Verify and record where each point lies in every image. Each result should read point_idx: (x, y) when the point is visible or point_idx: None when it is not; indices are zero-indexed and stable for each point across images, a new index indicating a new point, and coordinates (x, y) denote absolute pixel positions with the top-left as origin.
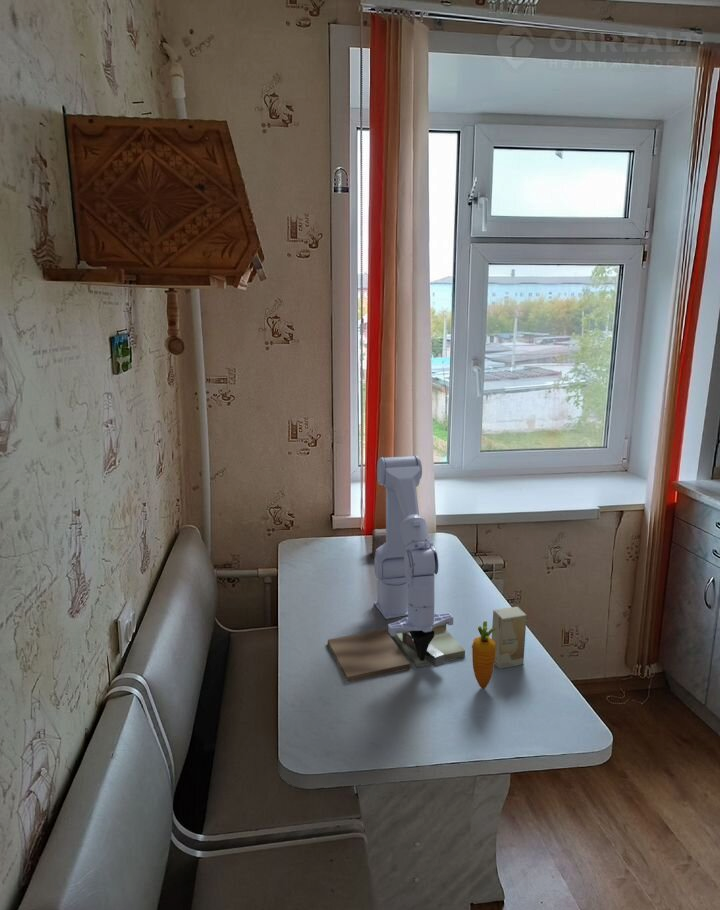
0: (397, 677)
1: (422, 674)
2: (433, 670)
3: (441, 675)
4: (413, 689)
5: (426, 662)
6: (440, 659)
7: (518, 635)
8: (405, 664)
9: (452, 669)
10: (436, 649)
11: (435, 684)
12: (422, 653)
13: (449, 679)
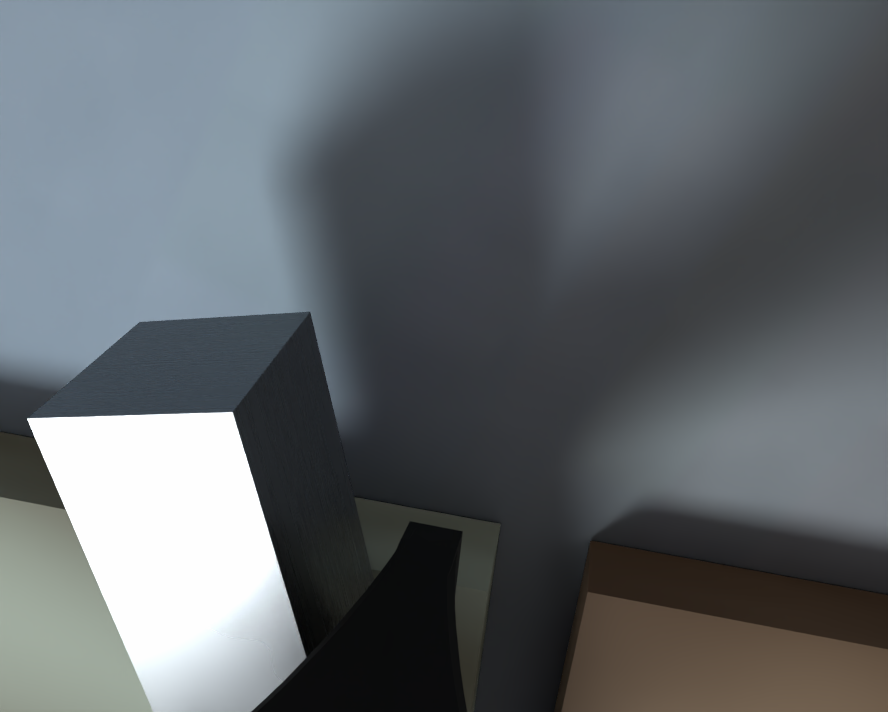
0: (871, 474)
1: (508, 366)
2: (325, 368)
3: (271, 223)
4: (872, 108)
5: None
6: (158, 375)
7: None
8: (656, 607)
9: (78, 268)
10: (122, 594)
11: (460, 63)
12: (423, 624)
13: (200, 80)
